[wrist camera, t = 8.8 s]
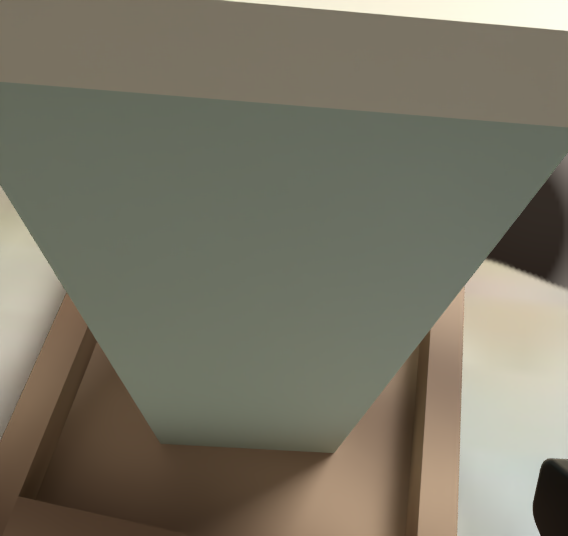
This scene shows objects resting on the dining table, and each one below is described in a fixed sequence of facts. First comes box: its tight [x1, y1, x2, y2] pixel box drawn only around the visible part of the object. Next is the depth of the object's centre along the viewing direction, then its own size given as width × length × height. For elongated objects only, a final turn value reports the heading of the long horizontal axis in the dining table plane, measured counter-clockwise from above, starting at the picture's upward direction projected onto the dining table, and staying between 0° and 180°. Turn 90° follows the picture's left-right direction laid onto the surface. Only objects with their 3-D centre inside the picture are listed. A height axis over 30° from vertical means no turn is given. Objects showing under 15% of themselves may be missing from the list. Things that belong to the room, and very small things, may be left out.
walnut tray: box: [0, 286, 465, 536], centre depth 17 cm, size 12×12×2 cm
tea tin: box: [0, 0, 568, 453], centre depth 11 cm, size 5×5×14 cm
